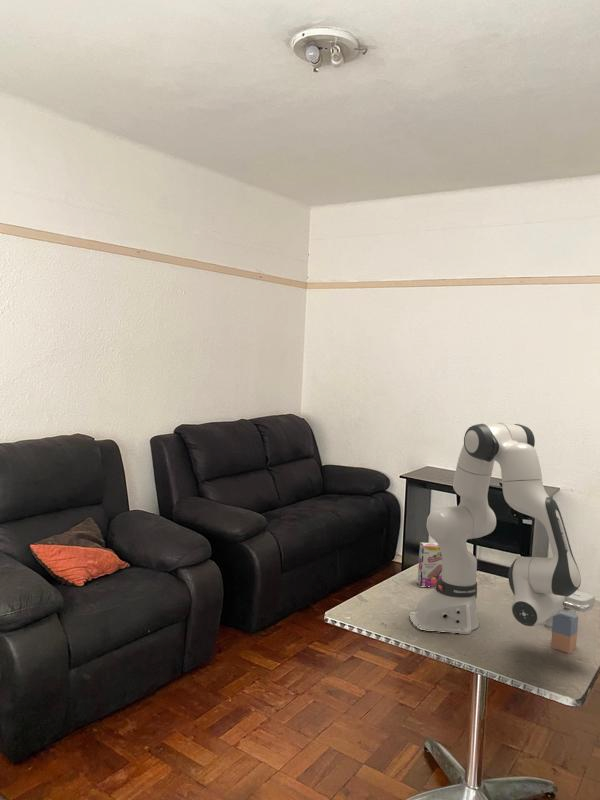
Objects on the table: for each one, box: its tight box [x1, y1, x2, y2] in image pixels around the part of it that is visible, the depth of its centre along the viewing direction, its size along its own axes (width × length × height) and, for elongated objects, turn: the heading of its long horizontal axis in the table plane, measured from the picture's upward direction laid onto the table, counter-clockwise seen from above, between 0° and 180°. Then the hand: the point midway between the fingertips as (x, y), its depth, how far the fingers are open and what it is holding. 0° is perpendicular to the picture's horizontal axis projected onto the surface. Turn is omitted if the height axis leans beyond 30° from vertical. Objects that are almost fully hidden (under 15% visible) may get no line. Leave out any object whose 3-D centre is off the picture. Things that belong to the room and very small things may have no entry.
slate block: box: [551, 611, 579, 637], centre depth 194 cm, size 6×6×5 cm
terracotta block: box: [550, 631, 578, 654], centre depth 195 cm, size 6×6×5 cm
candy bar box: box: [417, 542, 442, 587], centre depth 243 cm, size 11×5×16 cm, turn 94°
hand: (566, 587), depth 193 cm, fingers closed on walnut block, 4 cm apart
